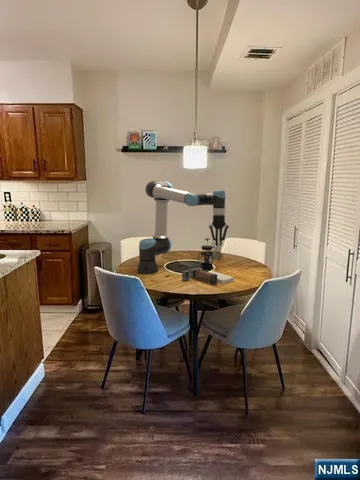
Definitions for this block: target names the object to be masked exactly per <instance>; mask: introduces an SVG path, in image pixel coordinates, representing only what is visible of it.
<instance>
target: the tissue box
mask: <svg viewBox="0 0 360 480" xmlns="http://www.w3.org/2000/svg"><path fill="white" fill-rule="evenodd" d="M211 246H213V248H212V250H205V252H212V253H213V261H219V259H220V257H221V250H220V251H217V246H216V245H215V240H213V239H212V241H211ZM207 254H209V253H207ZM209 259H211V260H212V256H209Z"/></svg>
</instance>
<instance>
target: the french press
mask: <svg viewBox="0 0 360 480" xmlns="http://www.w3.org/2000/svg"><path fill="white" fill-rule="evenodd" d="M204 240H206V243H209V242H208V241H209V240H211V238H204ZM200 248H201V250H202V251H201V252H198V254H197V256H198V257H197V259H198V260H197V265H198V266H199V268H202V270H203V271H209V270H213V261H214V260H213V253H212V252H206V251H207V250H212V248H213V246H212V245H208V244H205V245H201V246H200ZM207 253H209V254H207ZM202 256H203V258H202ZM209 256H212V260H211V259H209Z"/></svg>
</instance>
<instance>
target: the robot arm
mask: <svg viewBox="0 0 360 480" xmlns="http://www.w3.org/2000/svg"><path fill="white" fill-rule="evenodd" d="M145 194H146V195H147V196H148V197H149V198H153V200H154V202H155V225H154V235H153V236H152V238H151V237H150V238H143V239H141V240H140V241H139V246H138V251H139V252H138V253H139V254H138V256H139V258H138V259H139V261H138V264H137V268H136V272H137V274H143V275H151V274H153V275H154V274H156V273H158V272H159V268H158V264H157V262H156V256H159V255H164V254H167V253H169V251H170V250H171V248H172V241H171V240H170V239H169V235H168V234H167V233H168V232H167V230H168V228H167V227H168V203H169V202H170V201H172V202H177V203H181V204H186V205H187V206H189V207H195V206H196V207H197V206H212V223H211V224H210V225H208V228H209V229H210V234H211V237H212V240H213V241H214V242H215V247H217V251H220V252H221V247H222V245H223V244H222V243H223V241H225V240H226V236H227V231H228V229H229V227H230V225H228V224H226V216H225V214H226V191H225V190H223V189H222V190H221V189H220V190H219V189H215V190H213V192H212V193H209V192H207V193H205V192H201V193H195V192H189V191H185V190H179V189H175V188H174V187H173V185H172V183H170V182H169V181H165V180H152V181H149V182H148V183H147V184H146V186H145ZM213 227H214V229H213ZM223 229H224V230H223ZM214 230H215V232H214Z"/></svg>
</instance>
